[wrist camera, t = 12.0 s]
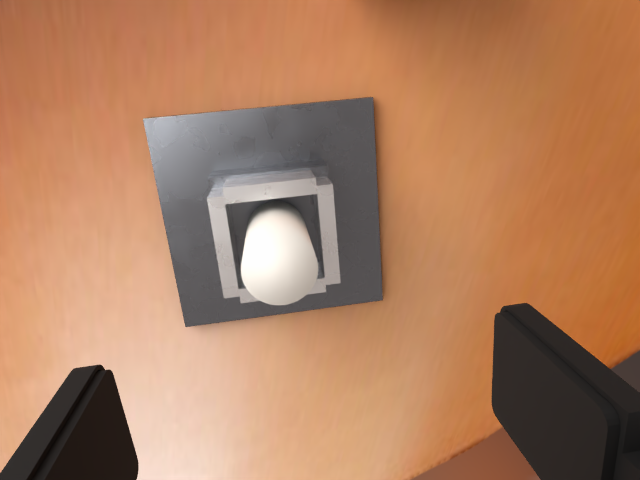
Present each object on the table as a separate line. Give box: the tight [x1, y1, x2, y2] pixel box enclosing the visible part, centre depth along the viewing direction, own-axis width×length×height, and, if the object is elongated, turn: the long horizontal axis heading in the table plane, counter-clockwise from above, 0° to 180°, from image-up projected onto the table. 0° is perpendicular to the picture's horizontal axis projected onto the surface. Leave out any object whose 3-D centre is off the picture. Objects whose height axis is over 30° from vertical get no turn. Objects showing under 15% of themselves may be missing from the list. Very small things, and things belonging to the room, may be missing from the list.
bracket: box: [143, 97, 383, 327], centre depth 31 cm, size 16×16×7 cm
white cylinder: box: [241, 201, 318, 305], centre depth 27 cm, size 4×4×8 cm
